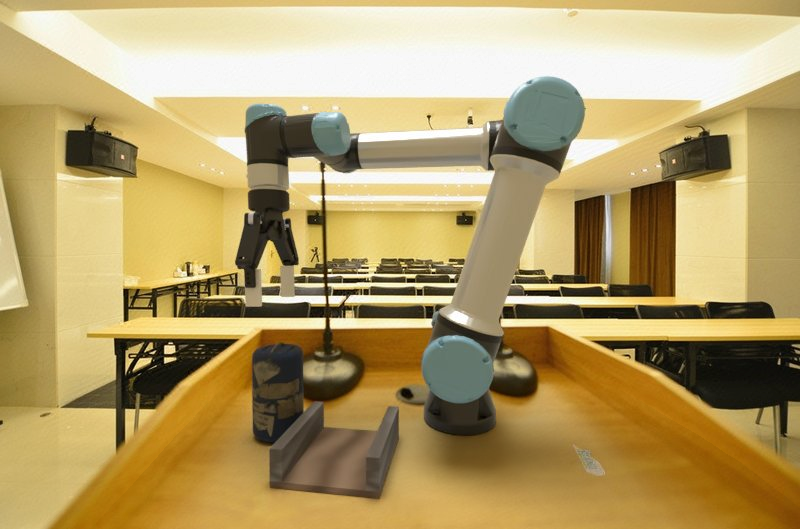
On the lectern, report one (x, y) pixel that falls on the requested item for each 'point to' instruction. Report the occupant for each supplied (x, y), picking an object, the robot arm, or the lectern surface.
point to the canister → (276, 389)
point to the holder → (333, 455)
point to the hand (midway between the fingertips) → (272, 301)
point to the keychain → (589, 462)
